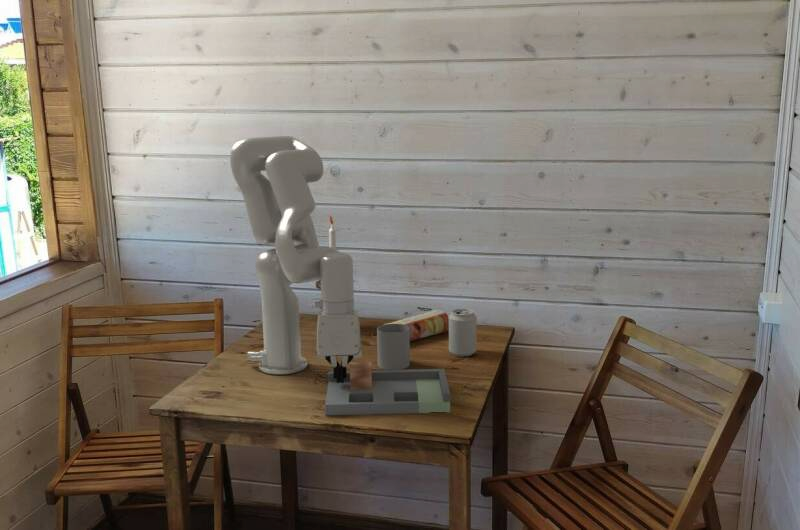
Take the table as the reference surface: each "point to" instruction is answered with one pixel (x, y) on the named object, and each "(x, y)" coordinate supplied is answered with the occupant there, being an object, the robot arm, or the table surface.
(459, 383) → the table surface
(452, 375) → the table surface
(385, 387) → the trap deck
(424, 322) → the snack package
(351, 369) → the block
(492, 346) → the table surface
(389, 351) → the cup
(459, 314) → the can
